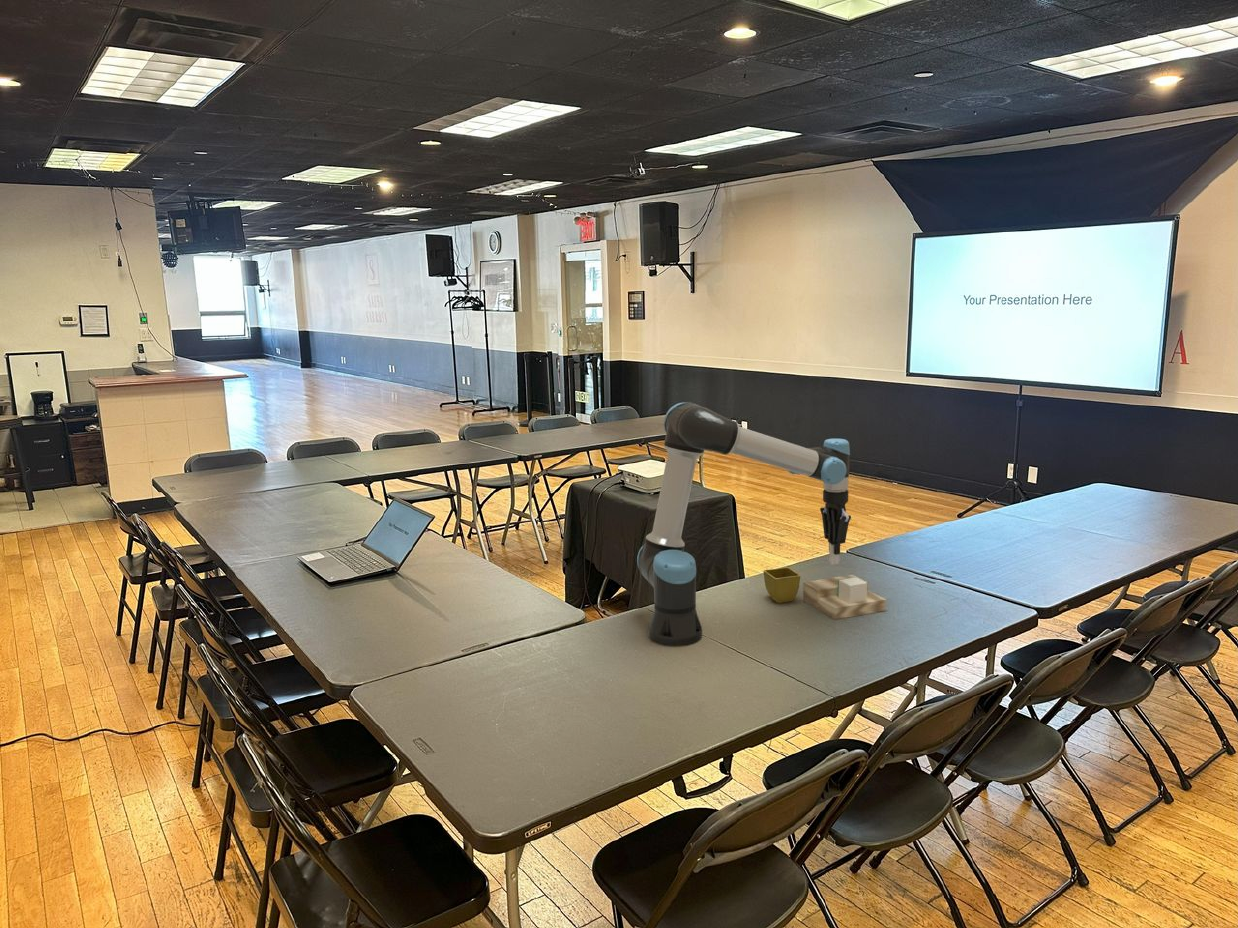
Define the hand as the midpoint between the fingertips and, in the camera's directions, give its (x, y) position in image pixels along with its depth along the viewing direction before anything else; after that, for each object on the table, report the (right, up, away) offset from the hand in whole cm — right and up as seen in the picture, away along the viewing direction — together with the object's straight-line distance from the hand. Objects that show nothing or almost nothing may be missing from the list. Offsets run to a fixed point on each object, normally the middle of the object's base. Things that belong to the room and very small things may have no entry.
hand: (834, 563), depth 248 cm
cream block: (+2, -7, -5) cm, 9 cm away
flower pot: (-16, -12, +2) cm, 20 cm away
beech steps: (+2, -12, -3) cm, 13 cm away
